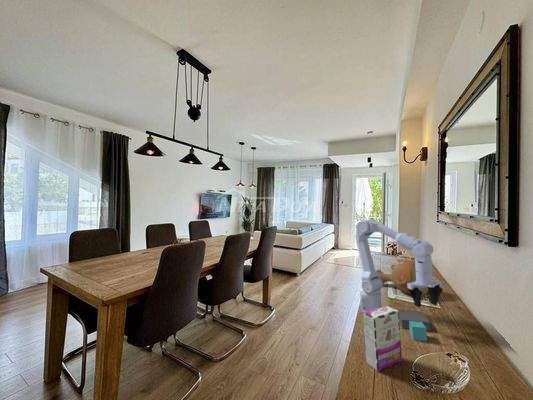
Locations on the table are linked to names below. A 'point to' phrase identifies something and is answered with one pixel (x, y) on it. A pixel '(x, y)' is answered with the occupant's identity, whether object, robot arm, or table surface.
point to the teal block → (417, 331)
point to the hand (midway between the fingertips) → (425, 305)
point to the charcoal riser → (412, 318)
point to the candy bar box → (382, 337)
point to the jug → (402, 276)
